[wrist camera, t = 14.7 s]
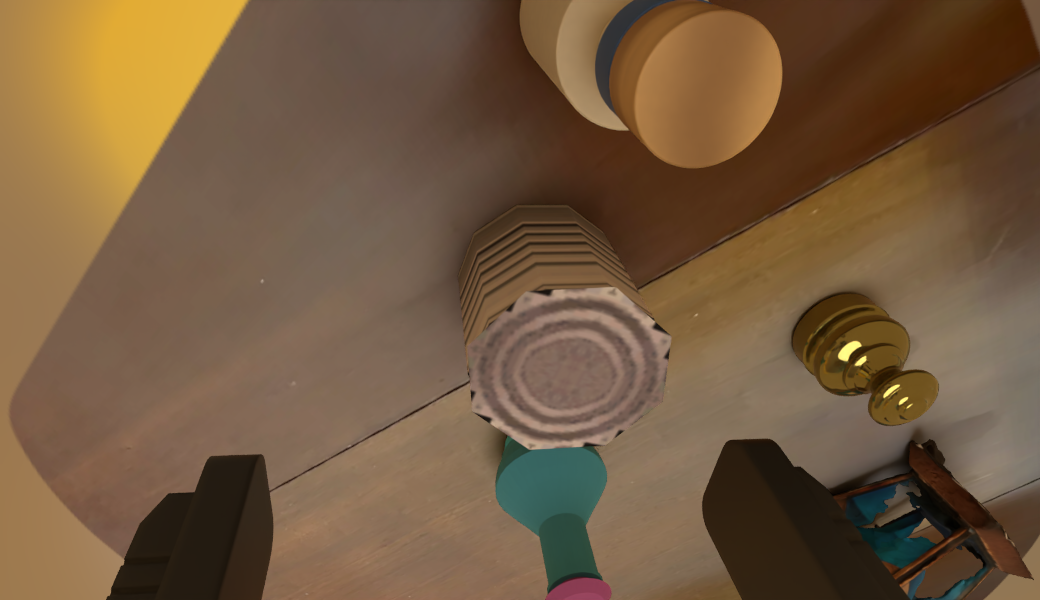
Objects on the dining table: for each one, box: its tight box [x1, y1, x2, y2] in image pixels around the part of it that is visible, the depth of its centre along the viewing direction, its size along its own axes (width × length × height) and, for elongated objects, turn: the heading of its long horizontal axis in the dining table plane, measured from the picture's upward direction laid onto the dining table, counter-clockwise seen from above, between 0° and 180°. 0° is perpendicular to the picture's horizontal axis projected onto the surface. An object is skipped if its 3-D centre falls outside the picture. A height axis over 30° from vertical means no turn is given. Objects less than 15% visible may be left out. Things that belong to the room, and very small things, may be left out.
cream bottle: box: [520, 0, 712, 130], centre depth 27 cm, size 7×7×16 cm
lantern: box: [833, 439, 1034, 600], centre depth 59 cm, size 16×16×25 cm
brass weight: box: [793, 294, 939, 426], centre depth 45 cm, size 7×7×10 cm
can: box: [458, 205, 671, 450], centre depth 38 cm, size 11×11×12 cm
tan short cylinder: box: [609, 0, 782, 168], centre depth 20 cm, size 5×5×3 cm
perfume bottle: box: [496, 436, 611, 600], centre depth 46 cm, size 9×9×15 cm
